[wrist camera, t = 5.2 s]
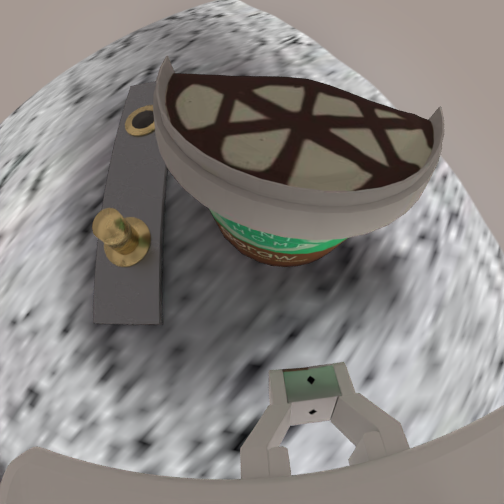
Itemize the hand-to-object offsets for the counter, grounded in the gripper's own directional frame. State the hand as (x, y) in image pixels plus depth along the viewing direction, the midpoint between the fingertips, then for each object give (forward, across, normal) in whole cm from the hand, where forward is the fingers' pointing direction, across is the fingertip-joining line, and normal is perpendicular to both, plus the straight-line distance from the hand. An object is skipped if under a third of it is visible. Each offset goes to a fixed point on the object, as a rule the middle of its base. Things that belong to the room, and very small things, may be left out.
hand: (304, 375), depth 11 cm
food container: (+9, 0, -2) cm, 9 cm away
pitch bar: (+12, +9, -6) cm, 16 cm away
